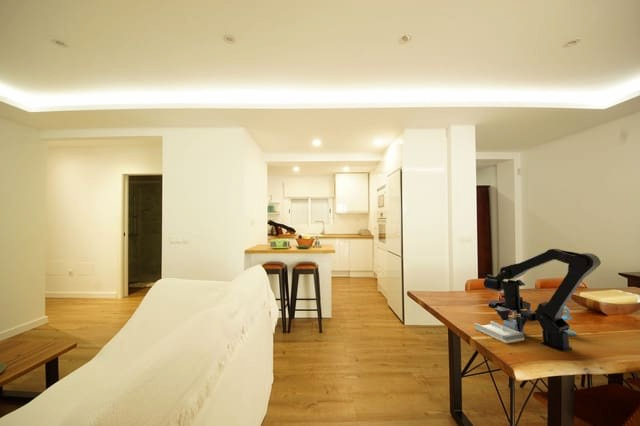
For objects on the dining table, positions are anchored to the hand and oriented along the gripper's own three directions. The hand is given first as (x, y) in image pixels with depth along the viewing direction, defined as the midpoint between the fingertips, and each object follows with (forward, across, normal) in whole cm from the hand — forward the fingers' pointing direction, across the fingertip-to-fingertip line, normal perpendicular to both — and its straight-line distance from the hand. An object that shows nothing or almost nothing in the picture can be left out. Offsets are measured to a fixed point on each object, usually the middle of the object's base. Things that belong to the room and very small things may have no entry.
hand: (513, 329), depth 104 cm
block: (+1, 0, 0) cm, 1 cm away
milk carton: (+1, +16, -20) cm, 26 cm away
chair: (+1, -5, -20) cm, 20 cm away
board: (+1, 0, +9) cm, 9 cm away
